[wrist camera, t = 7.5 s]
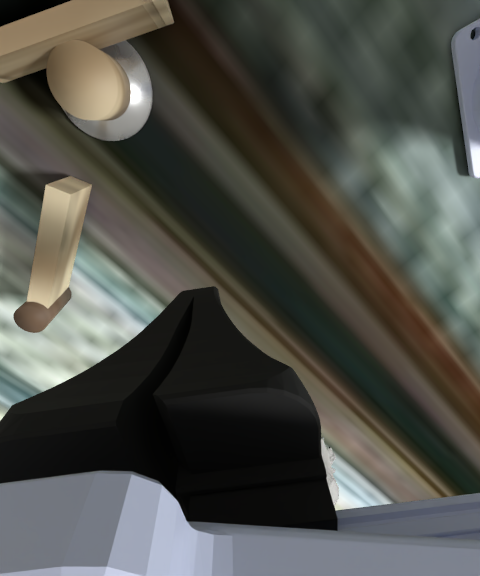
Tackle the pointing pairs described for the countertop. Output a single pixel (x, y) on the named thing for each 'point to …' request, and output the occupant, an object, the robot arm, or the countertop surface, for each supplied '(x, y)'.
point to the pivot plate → (138, 104)
